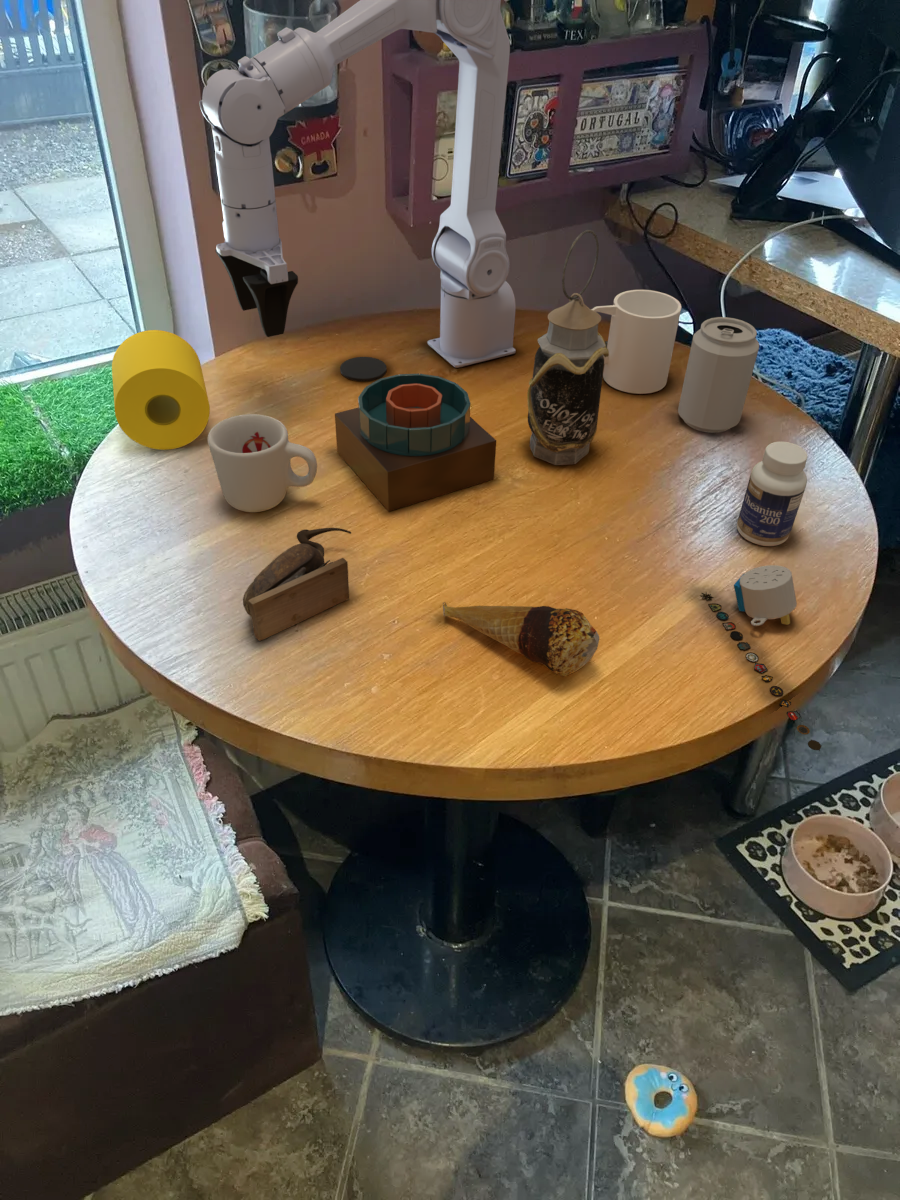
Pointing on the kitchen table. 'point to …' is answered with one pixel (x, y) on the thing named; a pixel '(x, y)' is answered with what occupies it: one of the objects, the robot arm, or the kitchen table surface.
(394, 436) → the big bowl
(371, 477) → the stand
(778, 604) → the electric motor
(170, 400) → the tape roll
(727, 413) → the can
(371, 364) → the coaster
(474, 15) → the robot arm
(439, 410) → the small bowl
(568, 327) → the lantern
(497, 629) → the ice cream cone
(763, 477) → the pill bottle
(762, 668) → the bead strand
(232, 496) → the cup
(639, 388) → the cup
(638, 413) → the kitchen table surface
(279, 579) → the figurine
